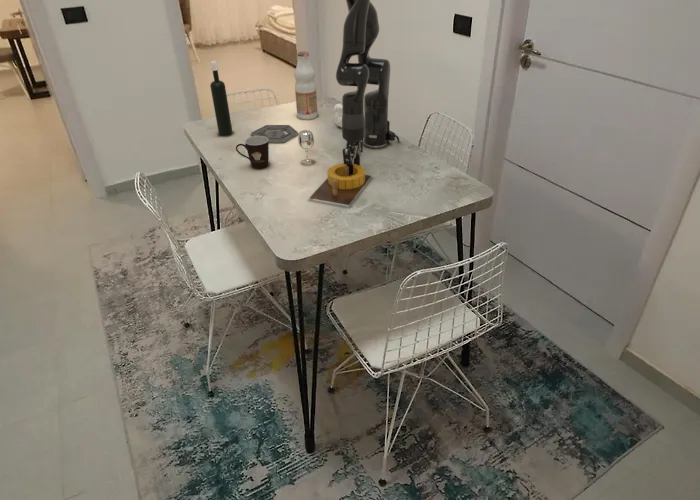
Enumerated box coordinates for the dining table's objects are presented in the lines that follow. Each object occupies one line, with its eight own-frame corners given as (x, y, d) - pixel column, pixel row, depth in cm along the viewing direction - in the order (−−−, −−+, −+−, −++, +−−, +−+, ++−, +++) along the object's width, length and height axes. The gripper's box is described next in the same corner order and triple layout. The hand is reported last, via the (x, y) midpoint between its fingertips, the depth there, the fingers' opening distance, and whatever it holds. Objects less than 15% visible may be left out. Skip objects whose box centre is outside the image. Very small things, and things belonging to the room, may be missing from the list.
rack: (335, 172, 179) (334, 156, 175) (371, 178, 174) (371, 162, 171) (309, 200, 162) (308, 183, 159) (348, 207, 158) (348, 190, 154)
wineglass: (313, 166, 183) (311, 136, 176) (298, 165, 184) (295, 135, 177) (317, 159, 188) (315, 129, 181) (302, 158, 189) (300, 129, 182)
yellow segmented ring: (352, 169, 178) (352, 160, 176) (371, 183, 169) (372, 173, 167) (321, 178, 173) (321, 168, 171) (340, 192, 164) (339, 183, 162)
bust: (336, 126, 221) (321, 110, 213) (348, 114, 220) (333, 97, 213) (349, 135, 212) (334, 118, 204) (361, 122, 212) (346, 105, 204)
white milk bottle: (296, 120, 222) (291, 55, 206) (297, 112, 230) (292, 50, 214) (317, 119, 222) (313, 55, 206) (317, 112, 230) (314, 49, 214)
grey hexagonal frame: (255, 126, 216) (254, 125, 215) (300, 126, 215) (300, 124, 215) (247, 142, 202) (247, 140, 201) (295, 142, 201) (295, 140, 201)
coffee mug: (275, 162, 186) (273, 137, 180) (263, 172, 180) (260, 146, 174) (250, 157, 190) (246, 133, 184) (237, 166, 184) (233, 141, 178)
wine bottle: (235, 132, 211) (223, 60, 194) (226, 137, 207) (213, 63, 190) (225, 130, 214) (213, 58, 196) (216, 134, 210) (202, 61, 192)
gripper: (355, 133, 159) (356, 179, 169) (370, 118, 170) (370, 163, 180) (334, 130, 162) (336, 176, 171) (350, 116, 173) (351, 160, 182)
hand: (353, 169), depth 176 cm, fingers open, 6 cm apart
